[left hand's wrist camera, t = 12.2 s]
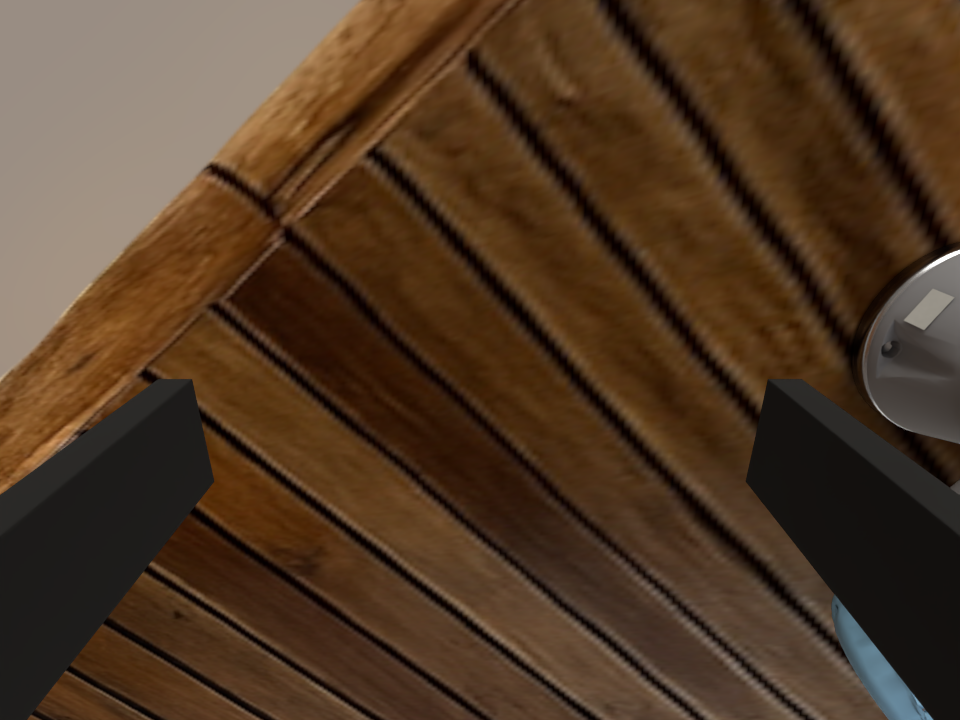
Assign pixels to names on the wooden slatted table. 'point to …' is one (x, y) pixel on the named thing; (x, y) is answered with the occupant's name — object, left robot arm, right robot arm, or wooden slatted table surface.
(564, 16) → the wooden slatted table surface
